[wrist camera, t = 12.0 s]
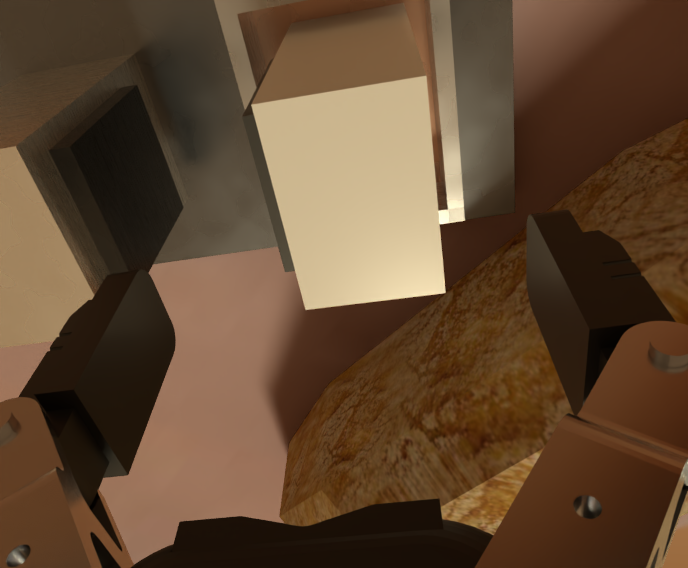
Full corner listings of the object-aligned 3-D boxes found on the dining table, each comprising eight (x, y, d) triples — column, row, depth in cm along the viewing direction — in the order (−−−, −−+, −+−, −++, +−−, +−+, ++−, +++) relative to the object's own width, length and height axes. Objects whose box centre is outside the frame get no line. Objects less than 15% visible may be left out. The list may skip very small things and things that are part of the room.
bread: (374, 514, 41) (377, 674, 33) (249, 443, 37) (217, 606, 29) (953, 163, 25) (1242, 304, 17) (845, -31, 21) (1155, 30, 13)
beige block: (403, 2, 20) (426, 75, 13) (420, 162, 24) (445, 292, 16) (275, 25, 21) (226, 108, 13) (309, 179, 24) (285, 312, 17)
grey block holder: (-88, 1, 22) (-375, 81, 13) (501, -125, 19) (611, -126, 11) (56, 262, 29) (-74, 426, 20) (507, 197, 26) (578, 354, 17)
